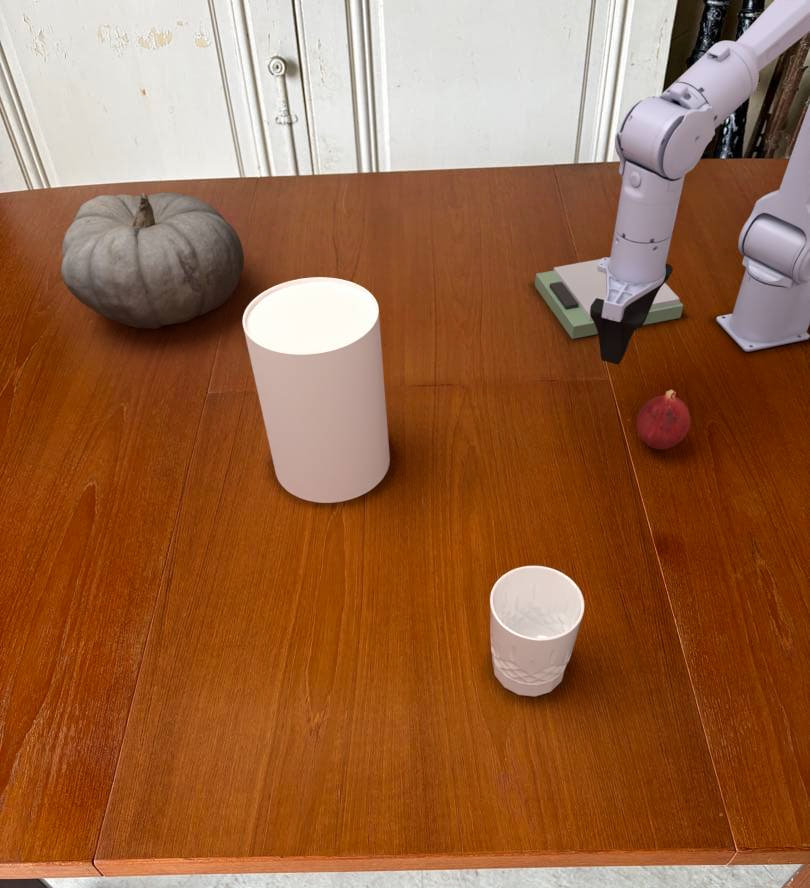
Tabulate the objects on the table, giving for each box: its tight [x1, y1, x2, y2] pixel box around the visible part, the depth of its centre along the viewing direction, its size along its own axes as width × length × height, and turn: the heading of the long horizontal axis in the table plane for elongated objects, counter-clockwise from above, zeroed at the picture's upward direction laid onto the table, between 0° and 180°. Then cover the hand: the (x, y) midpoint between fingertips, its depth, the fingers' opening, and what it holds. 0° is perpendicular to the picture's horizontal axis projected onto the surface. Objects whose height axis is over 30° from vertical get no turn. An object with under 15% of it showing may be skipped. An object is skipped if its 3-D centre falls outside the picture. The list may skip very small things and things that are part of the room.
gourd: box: [60, 191, 245, 330], centre depth 114 cm, size 25×25×17 cm
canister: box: [242, 276, 391, 504], centre depth 88 cm, size 14×14×20 cm
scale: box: [534, 257, 684, 340], centre depth 115 cm, size 16×14×3 cm
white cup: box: [489, 565, 585, 697], centre depth 72 cm, size 8×8×10 cm
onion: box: [636, 389, 691, 450], centre depth 92 cm, size 6×6×8 cm
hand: (622, 342), depth 93 cm, fingers open, 7 cm apart
